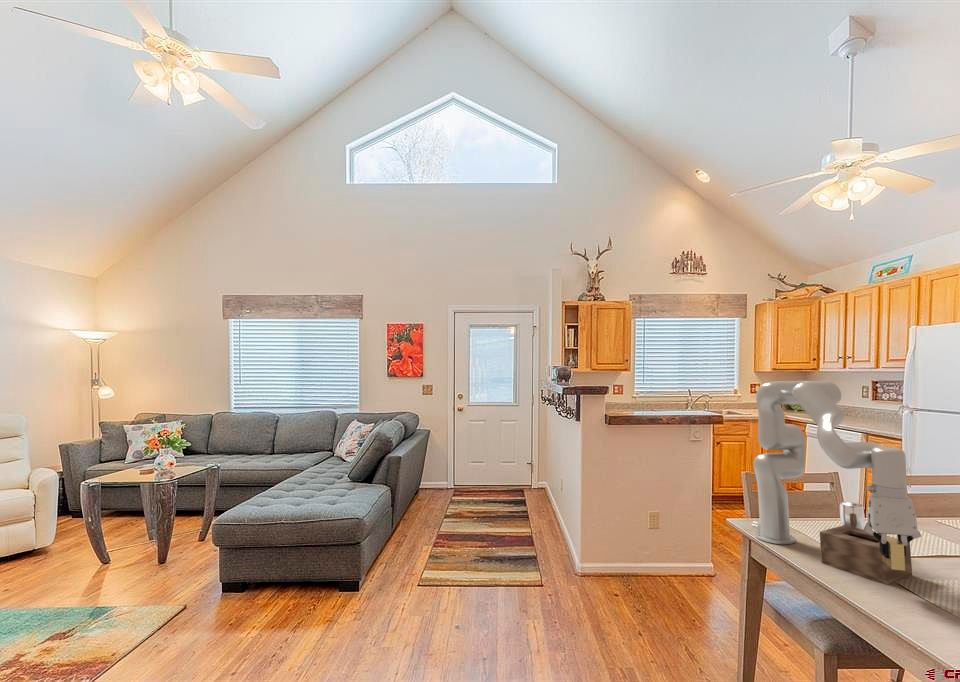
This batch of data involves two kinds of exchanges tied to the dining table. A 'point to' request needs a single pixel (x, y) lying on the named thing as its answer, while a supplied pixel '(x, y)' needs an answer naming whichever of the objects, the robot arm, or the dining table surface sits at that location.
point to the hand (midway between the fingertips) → (892, 556)
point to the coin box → (859, 554)
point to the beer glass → (852, 514)
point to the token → (895, 554)
